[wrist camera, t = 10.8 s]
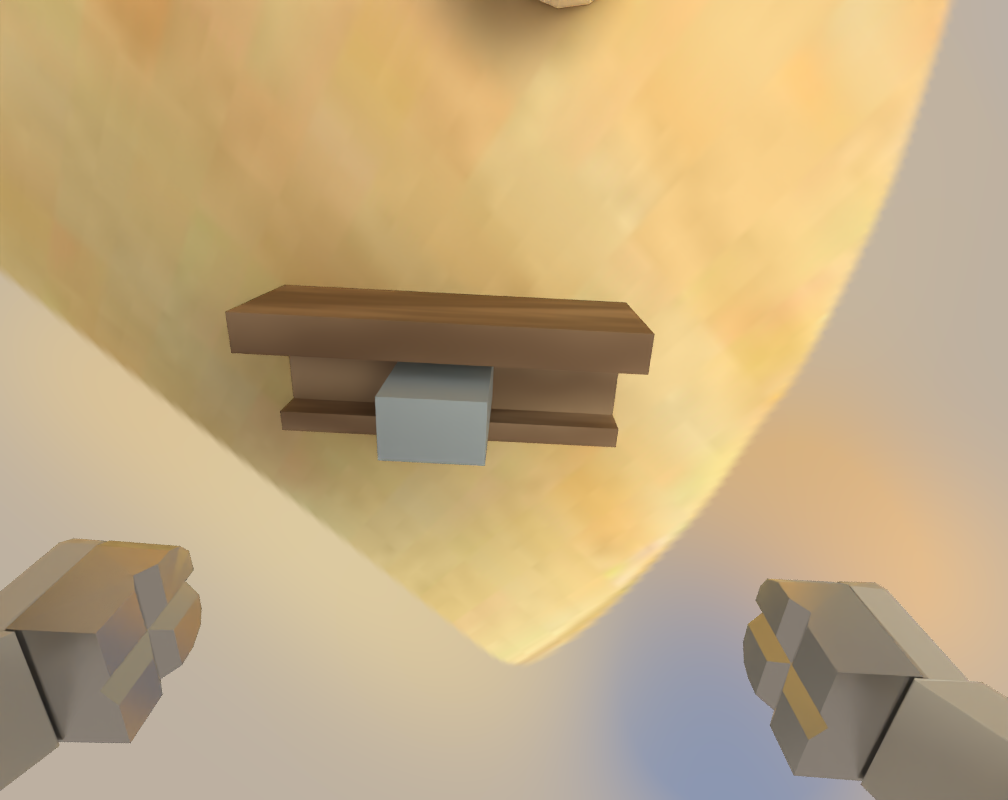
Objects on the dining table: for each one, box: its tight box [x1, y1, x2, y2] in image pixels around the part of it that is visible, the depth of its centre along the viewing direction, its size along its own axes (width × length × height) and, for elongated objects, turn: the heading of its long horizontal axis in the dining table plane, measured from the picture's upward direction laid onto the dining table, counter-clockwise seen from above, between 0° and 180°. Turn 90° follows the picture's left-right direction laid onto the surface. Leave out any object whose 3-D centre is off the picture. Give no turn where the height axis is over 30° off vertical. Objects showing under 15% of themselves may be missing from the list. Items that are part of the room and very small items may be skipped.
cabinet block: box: [375, 362, 494, 466], centre depth 29 cm, size 4×5×9 cm
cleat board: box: [225, 285, 654, 447], centre depth 30 cm, size 8×20×7 cm, turn 87°
